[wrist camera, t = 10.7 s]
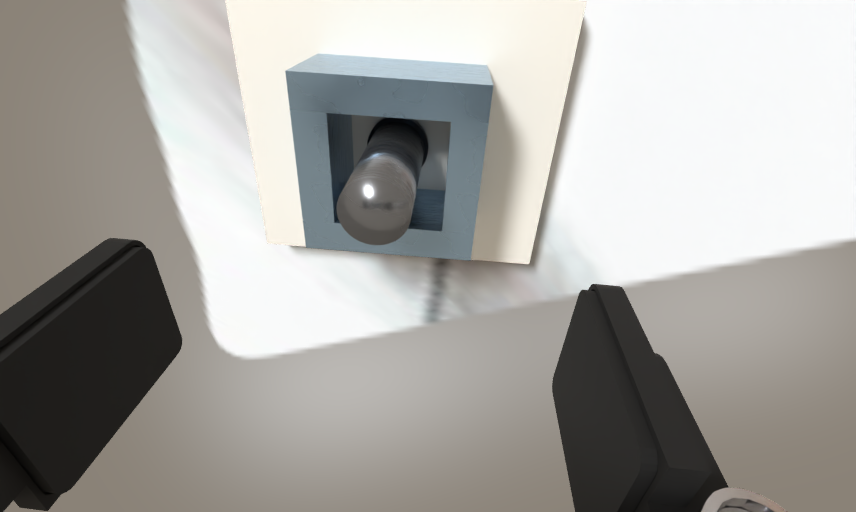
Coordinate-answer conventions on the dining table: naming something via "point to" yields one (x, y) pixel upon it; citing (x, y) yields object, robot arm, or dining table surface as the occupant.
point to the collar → (396, 98)
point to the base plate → (426, 41)
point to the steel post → (384, 182)
